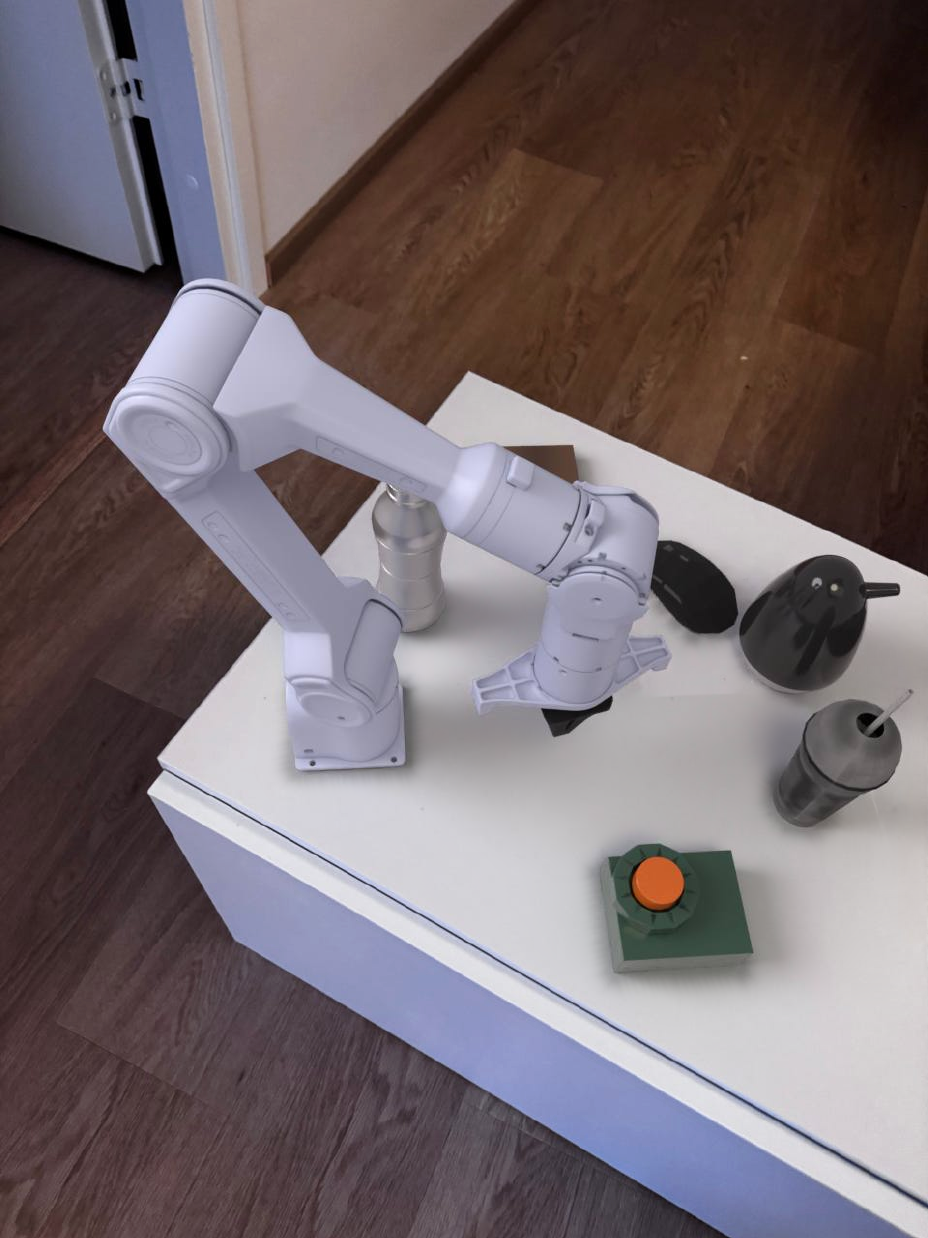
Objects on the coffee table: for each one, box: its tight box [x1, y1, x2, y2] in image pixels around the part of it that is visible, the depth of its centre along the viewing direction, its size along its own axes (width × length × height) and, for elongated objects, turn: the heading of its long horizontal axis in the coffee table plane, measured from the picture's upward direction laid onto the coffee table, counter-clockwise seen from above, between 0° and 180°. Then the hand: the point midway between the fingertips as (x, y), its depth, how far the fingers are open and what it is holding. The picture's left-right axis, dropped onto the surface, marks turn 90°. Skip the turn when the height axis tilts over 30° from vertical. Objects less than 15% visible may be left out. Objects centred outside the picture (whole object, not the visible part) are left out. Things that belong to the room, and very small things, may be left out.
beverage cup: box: [773, 687, 915, 828], centre depth 76 cm, size 7×7×20 cm
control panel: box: [500, 444, 580, 484], centre depth 100 cm, size 11×12×2 cm
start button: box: [632, 857, 684, 910], centre depth 73 cm, size 4×4×2 cm
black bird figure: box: [738, 554, 901, 694], centre depth 85 cm, size 10×10×15 cm
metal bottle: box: [371, 483, 449, 633], centre depth 85 cm, size 6×7×20 cm
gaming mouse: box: [650, 539, 739, 635], centre depth 95 cm, size 6×15×4 cm, turn 34°
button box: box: [599, 843, 754, 974], centre depth 76 cm, size 10×8×6 cm
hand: (557, 724), depth 77 cm, fingers closed
